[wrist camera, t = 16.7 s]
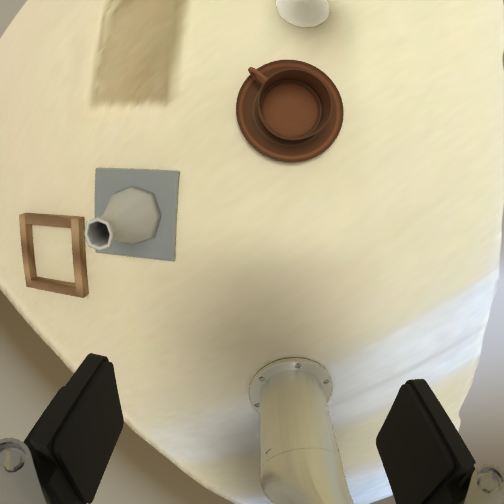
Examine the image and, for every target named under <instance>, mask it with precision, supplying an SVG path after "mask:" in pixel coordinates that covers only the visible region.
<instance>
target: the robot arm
mask: <svg viewBox="0 0 504 504" xmlns="http://www.w3.org/2000/svg"><path fill="white" fill-rule="evenodd" d="M332 390H333V386H332V380H331V377H330V375H329V373H328V372H327V370H326V369H325V368H324V367H323V366H321V365H320V364H318V363H316V362H314V361H312V360H308V359H303V358H287V359H282V360H278V361H275V362H273V363H270V364H269V365H267V366H265V367H263V368H262V369H261V370H260V371H258V373H257V374H256V375H255V376H254V377H253V379H252V381H251V383H250V387H249V398H250V402H251V404H252V406H253V407H254V409H255V410H256V411H257V412H259V413H260V461H261V472H260V473H261V486H262V489H263V491H264V493H265V495H266V496H267V498H268V499H269V500H270V501H271V502H272V503H273V504H354V503H353V500H352V498H351V495H350V492H349V489H348V485H347V482H346V478H345V474H344V470H343V466H342V462H341V458H340V454H339V450H338V446H337V442H336V438H335V434H334V430H333V426H332V422H331V418H330V414H329V410H328V406H327V402H328V401H329V399H330V397H331V395H332ZM123 423H124V420H123V414H122V410H121V405H120V400H119V395H118V390H117V384H116V379H115V373H114V367H113V364H112V362H109V361H108V358H107V357H105V356H101V355H96V354H92V353H90V354H89V355H88V356H87V357H86V358H85V360H84V361H83V362H82V364H81V365H80V366H79V368H78V369H77V370H76V372H75V373H74V375H73V376H72V377H71V379H70V380H69V382H68V383H67V384H66V386H64V387H62V388H61V389H60V390H59V391H58V392H57V394H56V395H55V397H54V398H53V400H52V401H51V402H50V404H49V405H48V407H47V408H46V410H45V411H44V412H43V414H42V415H41V417H40V418H39V420H38V421H37V423H36V424H35V426H34V427H33V429H32V430H31V431H30V433H29V435H28V436H27V438H26V439H25V441H24V442H22V441H20V440H18V439H14V438H4V439H1V440H0V504H86V503H89V504H90V503H92V501H93V499H94V496H95V494H96V491H97V489H98V486H99V484H100V481H101V479H102V476H103V474H104V471H105V469H106V466H107V464H108V461H109V459H110V456H111V454H112V452H113V449H114V447H115V445H116V442H117V440H118V437H119V435H120V433H121V431H122V428H123ZM376 446H377V449H378V451H379V454H380V457H381V460H382V463H383V466H384V469H385V471H386V474H387V477H388V480H389V483H390V486H391V489H392V492H393V495H394V497H395V501H396V504H504V472H503V471H502V470H501V469H500V468H499V467H497V466H495V465H492V464H483V465H480V466H478V467H477V468H476V469H475V467H474V464H475V463H476V462H475V460H474V458H473V457H472V455H471V453H470V451H469V450H468V448H467V446H466V445H465V443H464V442H463V440H462V438H461V436H460V435H459V433H458V431H457V430H456V428H455V426H454V425H453V423H452V421H451V420H450V418H449V417H448V415H447V413H446V412H445V410H444V409H443V407H442V405H441V404H440V402H439V401H438V399H437V398H436V396H435V394H434V393H433V391H432V390H431V388H430V387H429V385H428V384H427V382H426V381H425V380H424V379H415V380H408V381H407V382H406V383H405V384H404V385H402V386H401V388H400V390H399V392H398V395H397V397H396V399H395V401H394V403H393V405H392V407H391V410H390V412H389V414H388V416H387V418H386V420H385V422H384V424H383V426H382V428H381V430H380V432H379V434H378V435H377V438H376Z"/></svg>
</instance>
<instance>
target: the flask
mask: <svg viewBox="0 0 504 504" xmlns="http://www.w3.org/2000/svg"><path fill="white" fill-rule="evenodd" d="M160 217H161V214H160V211H159V208H158V205H157V202H156V199H155V196H154V193H152V192H149V191H146V190H143V189H140V188H137V187H135V186H131V187H128V188H126V189H123V190H120V191H118V192H115V193H113V194H112V196H111V199H110V201H109V203H108V206H107V208H106V210H105V212H104V214H103V215H102V216H101V217H100V218H99V217H97V218H95V219H92V220H90V221H87V222H86V227H85V232H84V235H85V238H86V241H87V243H88V246H89V247H92V248H94V249H96V250H99V251H100V250H103V249H106V248H109V247H111V245H112V242H113V241H121V242H127V243H131V244H136V243H139V242H143V241H146V240H149V239H152V238H155V234H156V231H157V227H158V224H159V221H160Z"/></svg>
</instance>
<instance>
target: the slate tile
mask: <svg viewBox="0 0 504 504" xmlns="http://www.w3.org/2000/svg"><path fill="white" fill-rule="evenodd" d="M179 173H180V171H169V170H149V169H122V168H96V174H95V218H97V217H99V218H100V217H101V216H102V215H103V214H104V212H105V210H106V208H107V206H108V203H109V201H110V199H111V196H112V194H113V193H115V192H118V191H120V190H123V189H126V188H128V187H131V186H135V187H137V188H140V189H143V190H146V191H149V192H152V193H154V196H155V199H156V202H157V205H158V208H159V211H160V214H161V217H160V221H159V224H158V227H157V231H156V234H155V238H152V239H149V240H146V241H143V242H139V243H136V244H131V243H127V242H121V241H113V242H112V245H111V247H109V248H106V249H103V250H100V251H99V250H96V252H97V253H105V254H114V255H122V256H131V257H140V258H149V259H158V260H167V261H175V246H176V222H177V203H178V187H179Z"/></svg>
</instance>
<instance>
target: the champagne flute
mask: <svg viewBox="0 0 504 504" xmlns="http://www.w3.org/2000/svg"><path fill="white" fill-rule="evenodd" d="M276 7H277V10H278V13H279V14H280V15H281V17H282V18H283V19H284V20H286V21H287V22H289V23H291V24H293V25H296V26H299V27H314V26H317V25H320V24H321V23H323V22H324V21H325V20H326V19H327V17H328V15H329V9H330V8H329V4H328V2H327V0H276Z"/></svg>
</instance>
